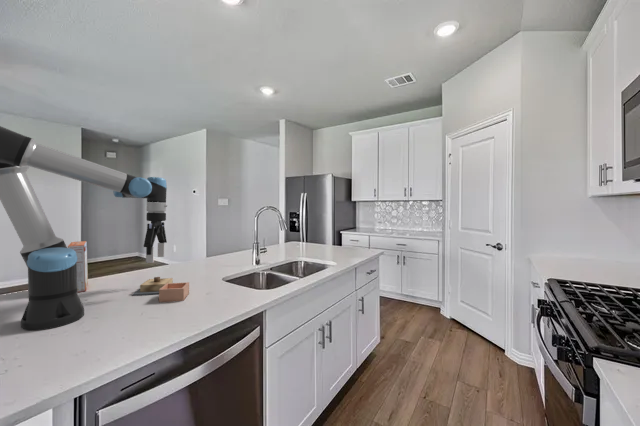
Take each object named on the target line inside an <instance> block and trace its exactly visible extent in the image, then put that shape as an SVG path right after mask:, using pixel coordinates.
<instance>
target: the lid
mask: <svg viewBox="0 0 640 426" xmlns="http://www.w3.org/2000/svg"><path fill="white" fill-rule="evenodd" d="M173 280H174V279H173V277H171V278H170V277H168V278H161V276H154V277H153V278H149V279H147V280H146V281H144V282H143V283H141V284H140V285H139V289H140V292H153V291H159V289H160V288H162V287H163V286H164V285H165V284H166V283H174V282H173Z"/></svg>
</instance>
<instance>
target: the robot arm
mask: <svg viewBox="0 0 640 426" xmlns="http://www.w3.org/2000/svg"><path fill="white" fill-rule="evenodd" d="M30 167H31V168H34V169H38V170H40V171H45V172H49V173H52V174H55V175H59V176H62V177H66V178H69V179H73V180H75V181H79V182H83V183H86V184H90V185H93V186H97V187H101V188H104V189H107V190H111V191H112V192H113V196H114V197H116V198H122V199H129V198H130V199H146V212H147V213H146V221H147V222H150V223H147V224H146V233H145V237H144V242H143V248H145V263H146V264H147V263H154V262H155V255H154V254H155V246H154V243H155V242H156V241H155V240H156V238H157V241H158V243H157V258H164V257H165V244H166V243H167V235H166V230H165V222H166V221H167V213H166V212H167V207H168V204H167V189H168V187H167V180H166V179H165V178H163V177H159V176H158V177H157V176H149V177H147V178H144V177H140V176H138V177H137V176H134V175H131V174H128V173H126V172H122V171H119V170H117V169H113V168H110V167H108V166H105V165H103V164H99V163H96V162H94V161H90V160H88V159H84V158H81V157H79V156H76V155H72V154H69V153H66V152H63V151H60V150H58V149H55V148H51V147H49V146H46V145H42V144H39V143H37V142H36V140H35V139H34V138H32V137H30V136H27V135H23V134H21V133H20V132H19V133H18V132H16V131H13V130H11V129H9V128H6V127H4V126H1V125H0V202H1V204H2V206H3V208H4V210H5V212H6V214H7V216H8V218H9V219H10V222H11V224H12V226H13V227H14V230H15V232H16V234H17V236H18V238H19V239H20V242H21V244H22V245H23V247H22V248H21V250H20V252H19V253H20V256H21V257H22V259H23V262H24V264H25V265H26V267H27V284H28V285H27V287H28V288H27V289H28V292H27V293H28V301H27V305H26V307H25V309H24V311H23V315H22V316H21V319H20V328H21V329H22V330H24V331H39V330H48V329H53V328H58V327H61V326H65V325H69V324H70V323H71V324H72V323H74V322H77V321H79V320H80V319H82V318H83V317H84V316H85V307H84V305H83V303H82V300H81V299H80V297H79V294H78V292H77V255H76V251H75V250H73V249H71V248H68V245H67V244H66V242H65V240H64V239H63V238H60V237H58V236H56V234H55V232H54V230H53V227H52V225H51V223H50V222H49V219H48V217H47V215H46V212H45V211H44V209H43V206H42V205H41V202H40V200H39V198H38V196H37V193H36V191H35V190H34V188H33V187H34V186H33V185H32V183H31V181H30V179H29V177H28V175H27V171H28V169H29V168H30Z"/></svg>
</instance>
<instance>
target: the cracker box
mask: <svg viewBox="0 0 640 426" xmlns="http://www.w3.org/2000/svg"><path fill="white" fill-rule="evenodd" d="M87 244H88V243H87V241H86V240H83V241H70V243H69V244H68V245H67V248H71V249H73V250H75V251H76V255H77V293H82V292H86V291H87V289H88V286H89V285H88V284H89V277H88V276H89V275H88V248H87V247H88V245H87Z"/></svg>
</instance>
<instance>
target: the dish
mask: <svg viewBox="0 0 640 426" xmlns="http://www.w3.org/2000/svg"><path fill="white" fill-rule="evenodd" d="M189 295H190V282H189V281H187V282H173V283H166V284H165V285H164V286H163V287H162V288H160V289H159V294H158V303H169V302H170V303H171V302H183V301H185V300H186V298H187V297H188V296H189Z"/></svg>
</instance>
